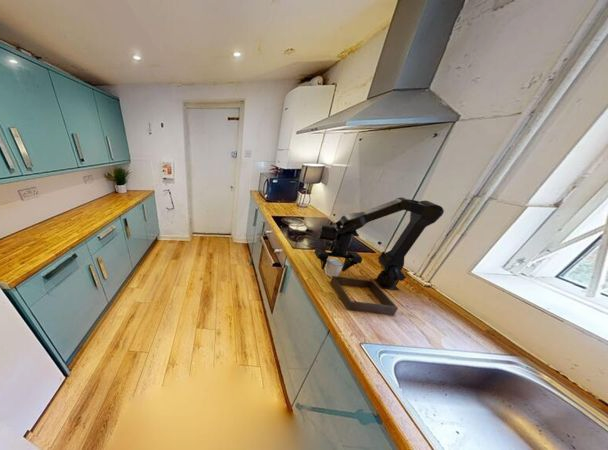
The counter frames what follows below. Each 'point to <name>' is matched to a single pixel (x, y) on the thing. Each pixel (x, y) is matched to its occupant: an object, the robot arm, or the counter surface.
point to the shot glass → (333, 267)
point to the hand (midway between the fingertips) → (332, 270)
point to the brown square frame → (385, 308)
